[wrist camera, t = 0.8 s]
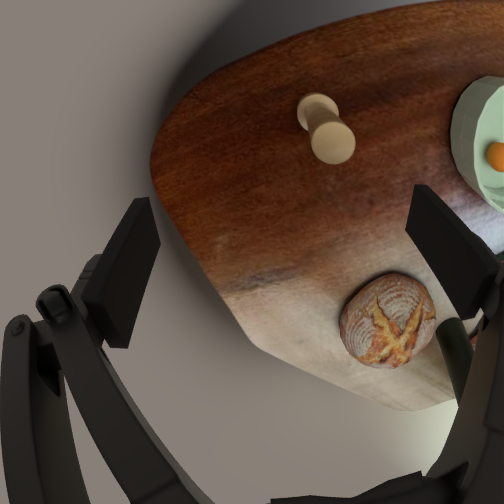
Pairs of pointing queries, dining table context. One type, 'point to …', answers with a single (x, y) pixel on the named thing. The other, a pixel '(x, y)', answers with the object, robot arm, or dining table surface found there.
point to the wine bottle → (456, 353)
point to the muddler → (325, 128)
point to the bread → (388, 321)
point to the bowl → (480, 137)
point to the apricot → (496, 156)
